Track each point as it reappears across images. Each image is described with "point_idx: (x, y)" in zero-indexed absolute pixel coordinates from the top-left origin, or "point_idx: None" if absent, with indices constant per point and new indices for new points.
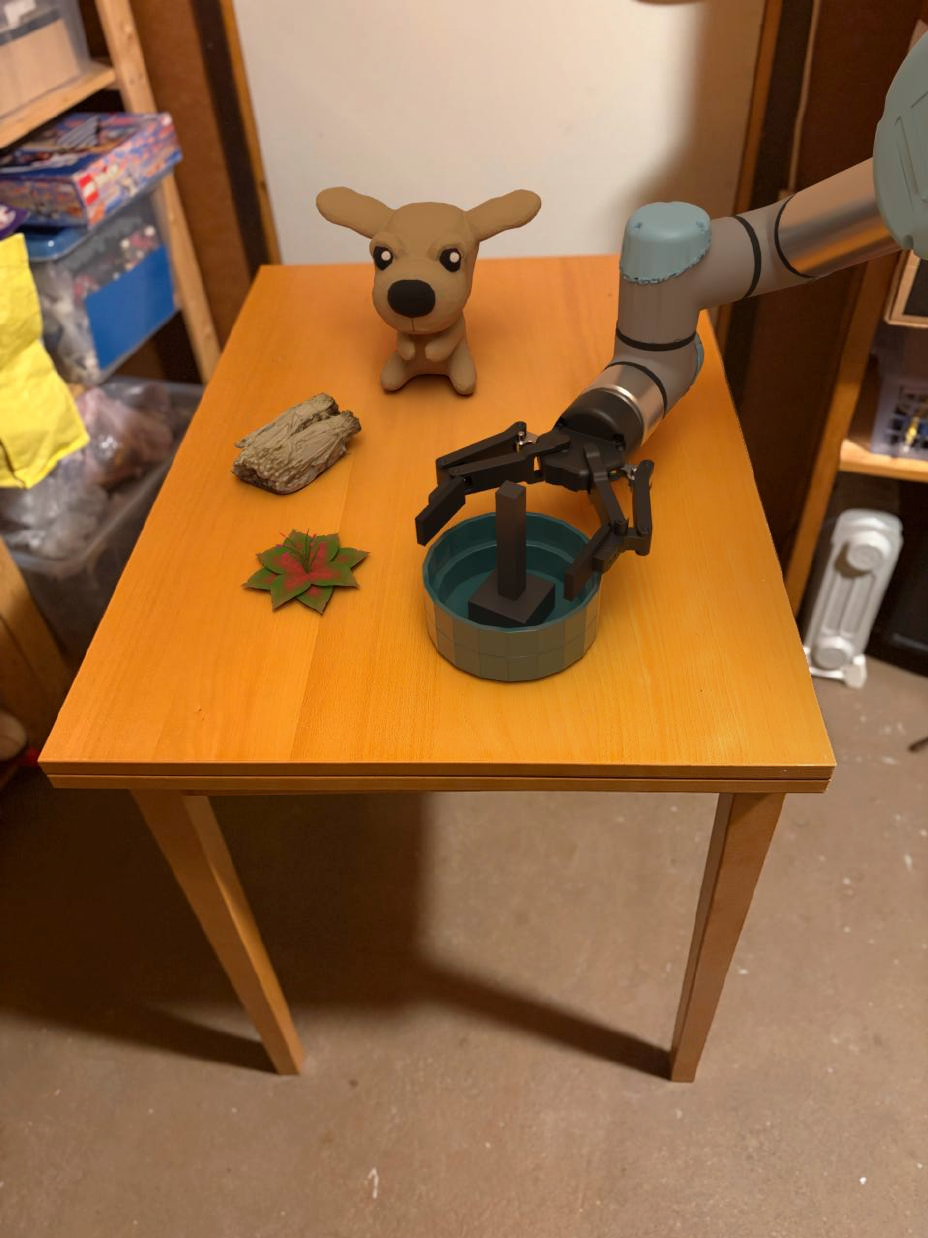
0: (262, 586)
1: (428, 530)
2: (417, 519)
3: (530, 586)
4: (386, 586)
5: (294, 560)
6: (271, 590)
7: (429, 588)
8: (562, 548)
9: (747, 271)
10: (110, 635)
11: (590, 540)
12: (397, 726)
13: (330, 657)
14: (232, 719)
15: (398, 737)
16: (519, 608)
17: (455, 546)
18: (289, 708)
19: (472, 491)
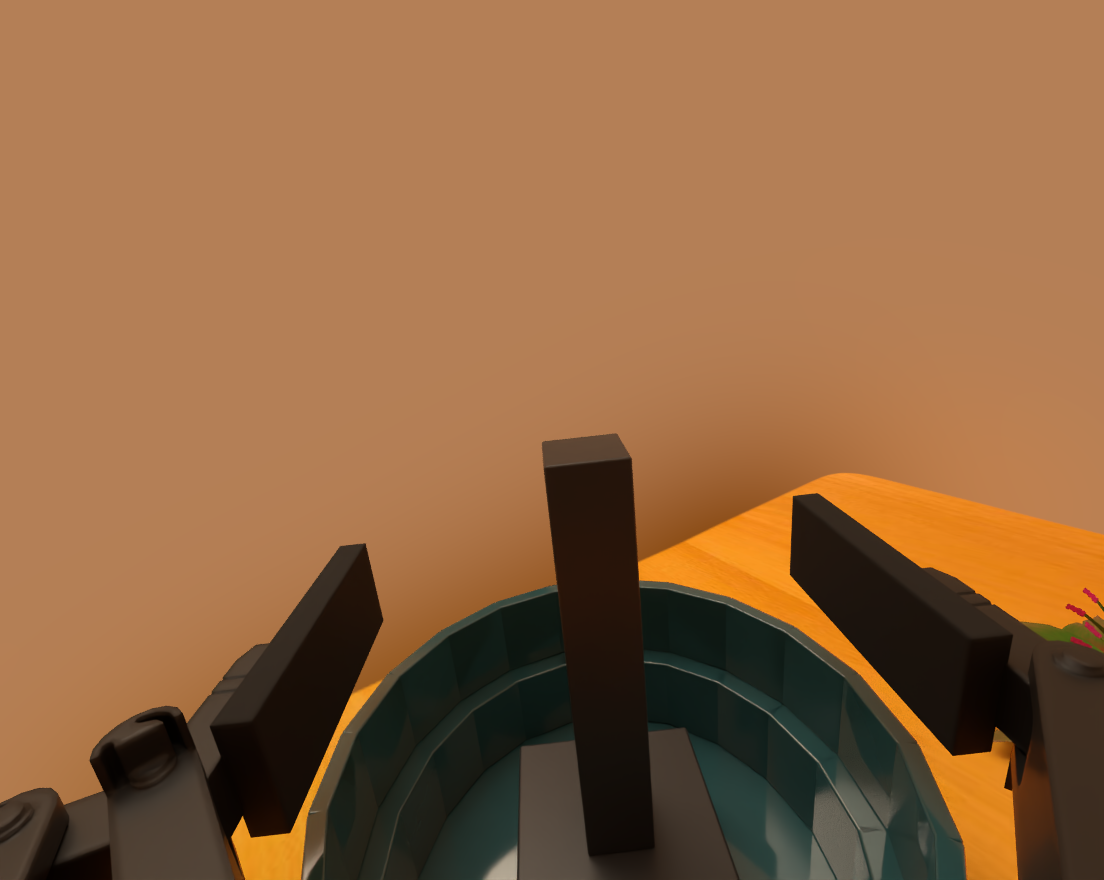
0: (1078, 632)
1: (803, 553)
2: (808, 495)
3: (582, 875)
4: (982, 804)
5: (1101, 635)
6: (1042, 625)
7: (711, 597)
8: None
9: None
10: (1032, 519)
11: (302, 640)
12: None
13: (807, 624)
14: (778, 533)
15: None
16: (558, 777)
17: (899, 826)
18: (749, 563)
19: (1015, 799)
